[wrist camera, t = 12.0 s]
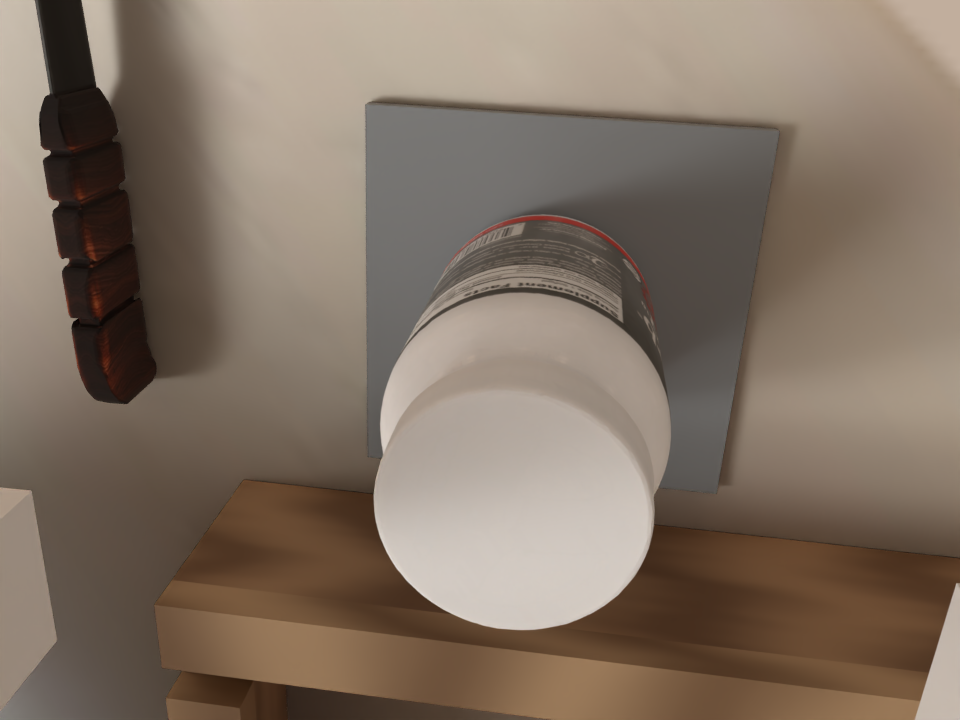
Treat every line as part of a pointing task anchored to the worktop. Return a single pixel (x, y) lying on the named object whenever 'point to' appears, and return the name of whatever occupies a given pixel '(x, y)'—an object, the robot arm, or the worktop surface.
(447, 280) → the pill bottle
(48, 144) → the knife
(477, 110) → the slate pad
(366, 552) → the tray
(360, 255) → the worktop surface
